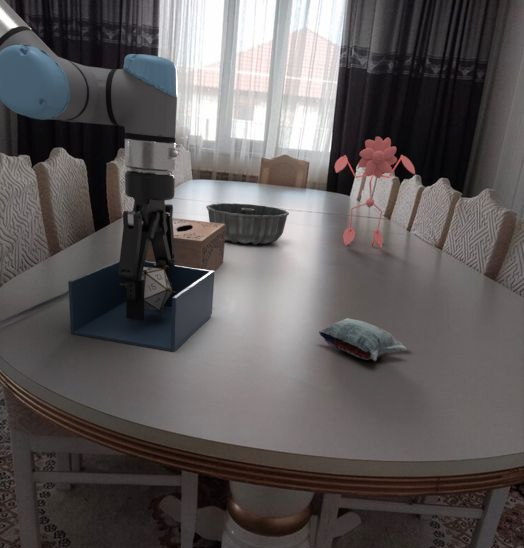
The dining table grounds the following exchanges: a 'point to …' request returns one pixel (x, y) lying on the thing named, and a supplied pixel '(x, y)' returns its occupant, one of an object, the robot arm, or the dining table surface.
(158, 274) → the game die
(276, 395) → the dining table surface
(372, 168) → the figurine
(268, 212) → the bundt pan
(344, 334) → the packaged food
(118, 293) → the blue open box
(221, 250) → the tissue box cover
